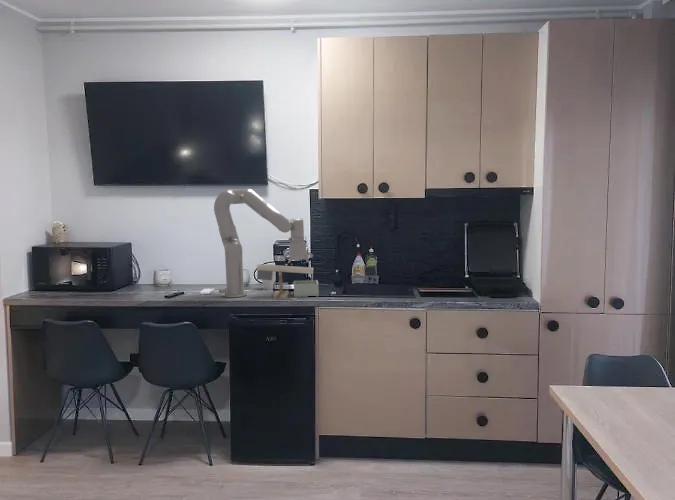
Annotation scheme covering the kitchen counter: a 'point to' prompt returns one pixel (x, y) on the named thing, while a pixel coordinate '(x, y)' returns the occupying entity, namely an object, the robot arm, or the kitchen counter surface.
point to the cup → (306, 288)
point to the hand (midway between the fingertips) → (298, 269)
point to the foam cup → (269, 282)
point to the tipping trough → (266, 270)
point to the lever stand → (281, 289)
